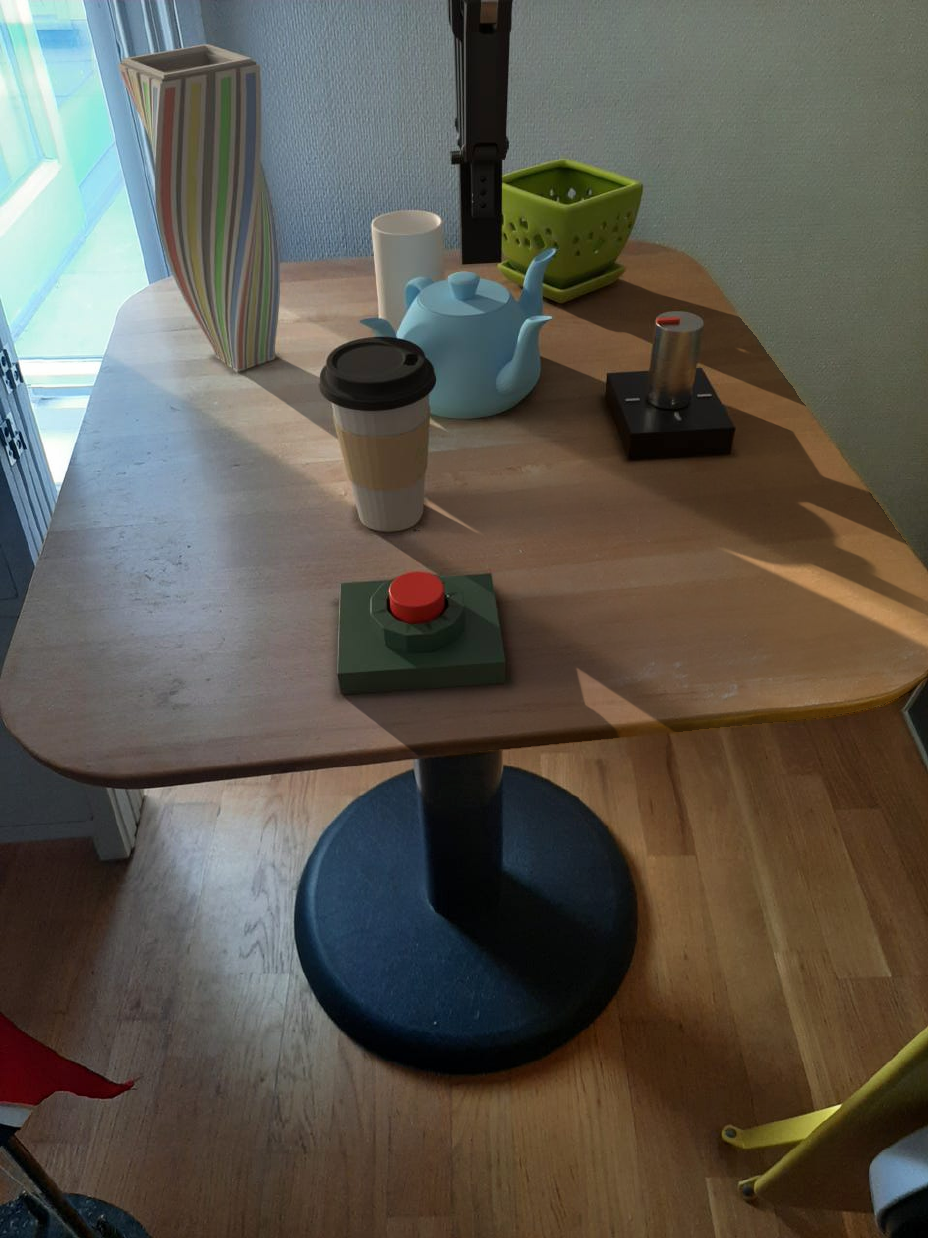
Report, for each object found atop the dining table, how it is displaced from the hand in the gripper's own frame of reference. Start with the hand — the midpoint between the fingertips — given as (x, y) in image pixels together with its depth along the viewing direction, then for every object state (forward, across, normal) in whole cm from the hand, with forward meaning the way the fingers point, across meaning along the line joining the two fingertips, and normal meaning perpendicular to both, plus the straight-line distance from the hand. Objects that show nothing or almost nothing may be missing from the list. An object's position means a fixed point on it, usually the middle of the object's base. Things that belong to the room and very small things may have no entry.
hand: (480, 259), depth 63 cm
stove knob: (+21, -17, +20) cm, 34 cm away
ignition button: (+21, +12, -6) cm, 25 cm away
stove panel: (+24, -17, +20) cm, 36 cm away
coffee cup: (+25, -5, -8) cm, 26 cm away
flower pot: (+25, -53, +15) cm, 60 cm away
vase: (+25, -37, -24) cm, 51 cm away
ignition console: (+24, +12, -6) cm, 28 cm away
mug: (+25, -45, -5) cm, 52 cm away
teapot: (+25, -26, +1) cm, 36 cm away
